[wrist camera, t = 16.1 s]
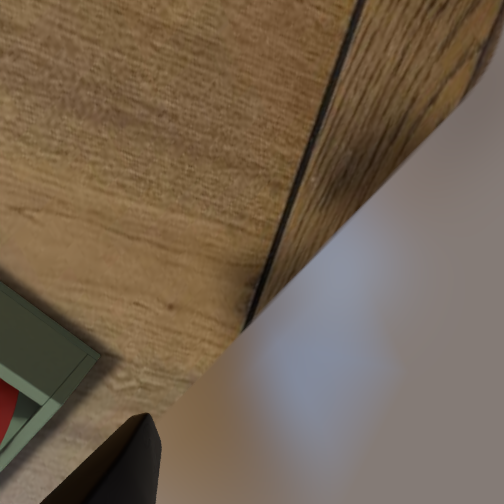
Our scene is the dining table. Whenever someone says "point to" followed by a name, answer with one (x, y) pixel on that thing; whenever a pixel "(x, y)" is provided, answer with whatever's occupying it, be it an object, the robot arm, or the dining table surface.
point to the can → (6, 406)
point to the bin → (36, 368)
